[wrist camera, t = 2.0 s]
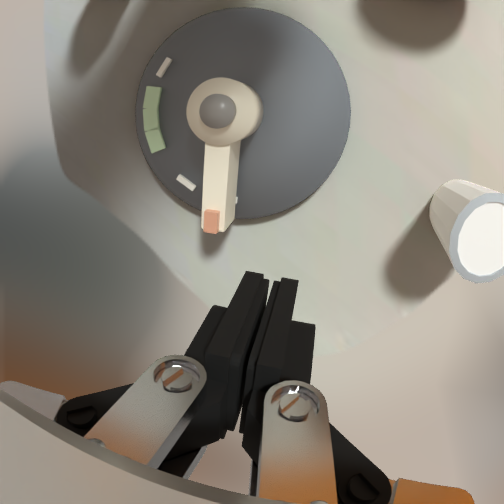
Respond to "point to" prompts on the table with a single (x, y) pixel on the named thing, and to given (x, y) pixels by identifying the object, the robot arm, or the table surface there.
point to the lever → (222, 142)
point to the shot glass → (470, 228)
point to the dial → (273, 98)
